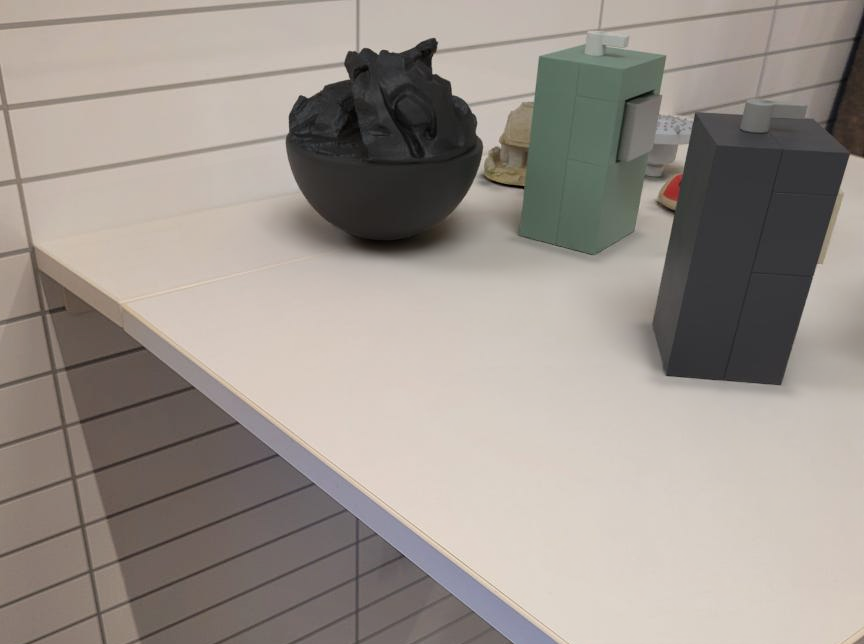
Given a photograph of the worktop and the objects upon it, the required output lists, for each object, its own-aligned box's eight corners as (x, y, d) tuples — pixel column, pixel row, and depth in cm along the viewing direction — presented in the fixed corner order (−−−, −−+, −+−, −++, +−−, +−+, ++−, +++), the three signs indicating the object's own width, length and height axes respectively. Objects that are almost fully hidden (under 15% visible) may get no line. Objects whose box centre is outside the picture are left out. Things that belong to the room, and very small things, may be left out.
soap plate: (652, 150, 97) (662, 94, 94) (627, 162, 93) (637, 104, 90) (640, 147, 98) (649, 92, 95) (614, 159, 94) (623, 102, 91)
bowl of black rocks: (328, 281, 90) (328, 69, 79) (263, 216, 105) (255, 31, 94) (510, 255, 97) (531, 58, 86) (424, 198, 112) (433, 24, 101)
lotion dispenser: (755, 331, 83) (821, 91, 72) (781, 385, 75) (859, 122, 63) (651, 324, 84) (700, 84, 72) (666, 375, 75) (723, 114, 64)
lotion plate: (803, 237, 76) (822, 169, 73) (823, 264, 71) (844, 193, 68) (785, 236, 76) (804, 168, 73) (803, 263, 71) (824, 191, 68)
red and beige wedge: (680, 194, 116) (686, 165, 114) (746, 217, 109) (754, 186, 107) (642, 203, 112) (648, 173, 110) (709, 227, 106) (716, 195, 104)
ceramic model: (596, 173, 122) (609, 92, 117) (593, 199, 113) (606, 112, 108) (489, 163, 125) (496, 83, 119) (477, 188, 116) (484, 102, 110)
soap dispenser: (634, 230, 104) (670, 33, 93) (594, 255, 97) (627, 45, 86) (562, 213, 109) (588, 22, 97) (518, 235, 102) (541, 33, 91)
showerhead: (645, 127, 114) (614, 107, 122) (634, 187, 118) (605, 164, 126) (717, 126, 115) (682, 107, 123) (704, 185, 119) (671, 163, 127)
